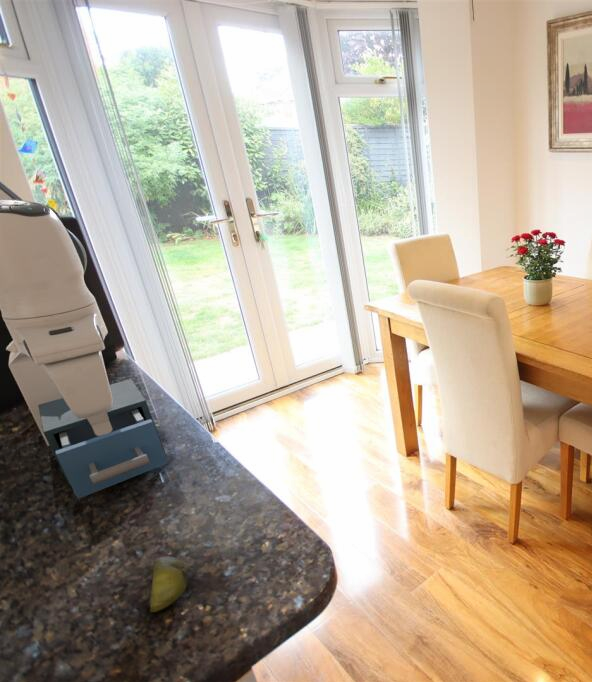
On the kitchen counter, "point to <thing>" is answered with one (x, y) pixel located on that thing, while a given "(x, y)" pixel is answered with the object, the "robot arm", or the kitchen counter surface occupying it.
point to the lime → (167, 582)
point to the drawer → (109, 453)
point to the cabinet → (62, 418)
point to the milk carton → (32, 382)
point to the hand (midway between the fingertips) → (99, 420)
